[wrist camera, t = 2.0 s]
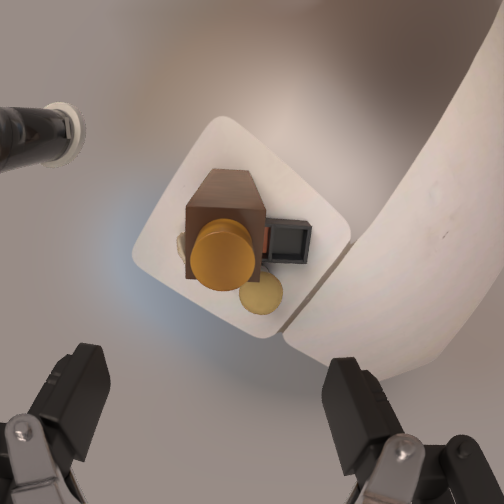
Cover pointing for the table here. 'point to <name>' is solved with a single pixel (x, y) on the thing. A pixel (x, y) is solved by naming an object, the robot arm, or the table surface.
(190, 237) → the block
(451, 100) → the table surface
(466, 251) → the table surface
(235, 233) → the cylinder
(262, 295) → the light bulb
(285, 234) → the dark grey open box
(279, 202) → the table surface
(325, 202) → the table surface
